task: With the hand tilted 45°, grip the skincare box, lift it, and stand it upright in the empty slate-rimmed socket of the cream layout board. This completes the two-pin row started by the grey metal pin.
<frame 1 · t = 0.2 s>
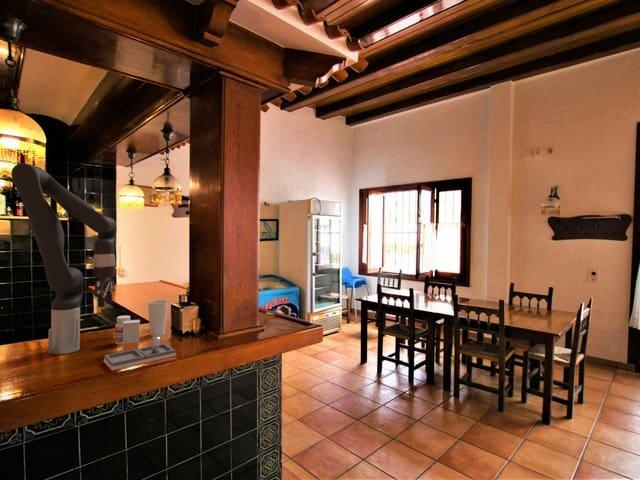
hand: (105, 305, 140), 18 cm above the table, tool pointing down, fingers open, 8 cm apart
skincare box: (130, 351, 140), on the table
layout board: (140, 358, 131), on the table
cup: (157, 335, 162), on the table
pill bottle: (123, 343, 150), on the table
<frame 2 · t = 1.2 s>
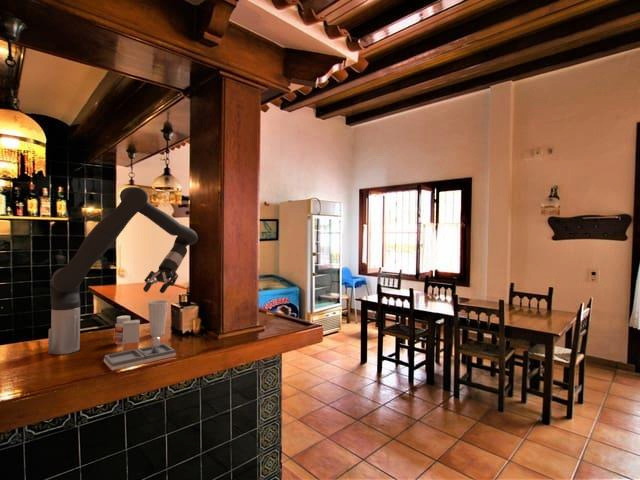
hand: (153, 291, 151), 22 cm above the table, tool tilted 45°, fingers open, 8 cm apart
nothing on the table moved.
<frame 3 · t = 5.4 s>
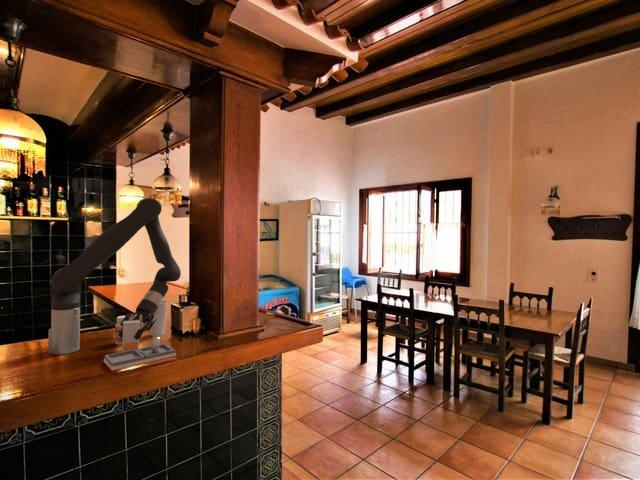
hand: (128, 337, 138), 6 cm above the table, tool tilted 45°, fingers closed on skincare box, 7 cm apart
skincare box: (130, 351, 140), on the table, touching gripper
everything else where it was.
when the fingers open (9 cm above the table, at t = 11.3 s): skincare box drops 2 cm, resting on layout board.
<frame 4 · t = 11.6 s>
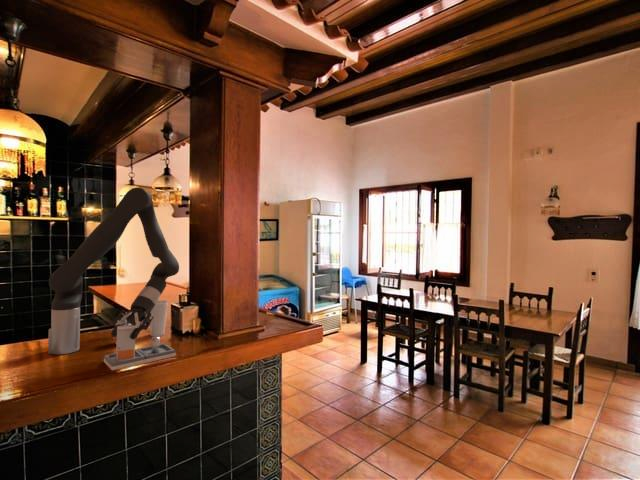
hand: (122, 337, 126), 10 cm above the table, tool tilted 45°, fingers open, 8 cm apart
skincare box: (125, 359, 127), point 1 cm above the table, touching layout board
everything else where it was.
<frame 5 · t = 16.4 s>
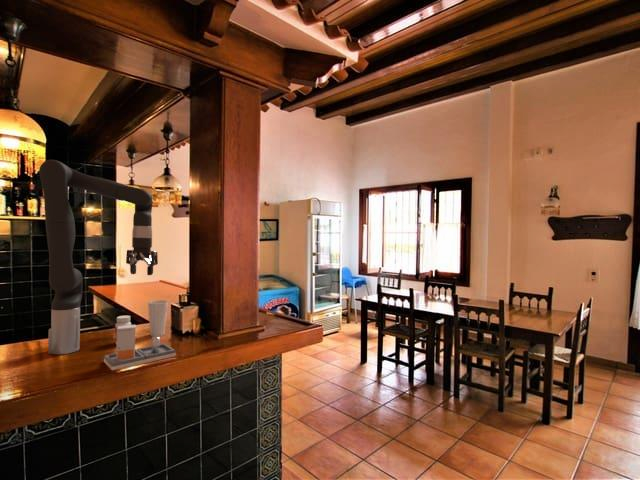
hand: (141, 274, 148), 30 cm above the table, tool pointing down, fingers open, 8 cm apart
nothing on the table moved.
at the end: skincare box 0.3 cm from the target spot on the layout board, point 1.1 cm above the layout board's base; skincare box tilted 0°; the gripper is holding nothing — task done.
